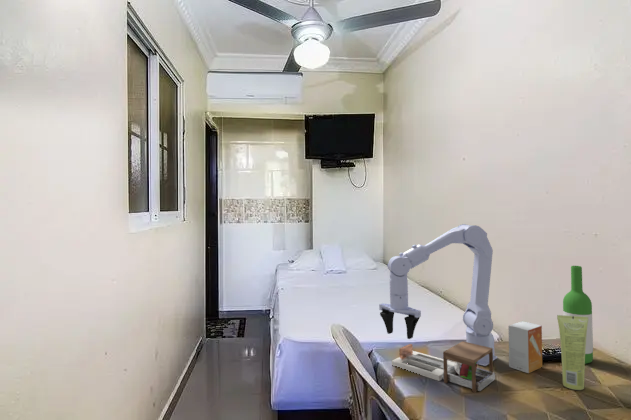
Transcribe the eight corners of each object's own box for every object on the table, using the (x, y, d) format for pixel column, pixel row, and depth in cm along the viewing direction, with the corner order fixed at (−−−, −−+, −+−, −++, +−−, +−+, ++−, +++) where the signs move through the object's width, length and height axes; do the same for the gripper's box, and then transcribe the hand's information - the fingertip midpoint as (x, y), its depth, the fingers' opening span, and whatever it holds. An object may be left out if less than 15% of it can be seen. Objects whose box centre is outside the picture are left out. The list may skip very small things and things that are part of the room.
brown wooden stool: (463, 369, 121) (462, 341, 121) (493, 378, 115) (492, 348, 115) (444, 382, 113) (443, 351, 113) (474, 392, 106) (474, 360, 106)
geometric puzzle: (470, 365, 119) (459, 347, 117) (490, 373, 113) (479, 354, 111) (458, 384, 116) (446, 366, 114) (478, 393, 111) (466, 374, 108)
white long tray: (413, 355, 133) (413, 342, 133) (494, 379, 113) (494, 363, 113) (396, 364, 126) (396, 350, 126) (479, 391, 106) (479, 374, 106)
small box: (529, 374, 117) (528, 330, 117) (508, 367, 122) (507, 325, 122) (543, 367, 121) (542, 325, 121) (522, 361, 127) (521, 320, 127)
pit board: (412, 354, 134) (412, 350, 134) (458, 368, 122) (458, 363, 122) (391, 365, 126) (391, 360, 126) (439, 380, 114) (439, 375, 114)
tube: (571, 380, 112) (569, 312, 112) (590, 387, 107) (588, 316, 107) (558, 385, 109) (556, 314, 109) (577, 392, 105) (575, 319, 105)
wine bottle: (564, 353, 132) (562, 263, 131) (593, 358, 127) (591, 265, 127) (563, 361, 125) (561, 267, 125) (593, 366, 121) (590, 268, 121)
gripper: (373, 292, 130) (374, 333, 130) (411, 299, 120) (412, 343, 120) (386, 289, 135) (386, 328, 135) (423, 295, 125) (424, 338, 125)
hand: (399, 335), depth 128 cm, fingers open, 7 cm apart
